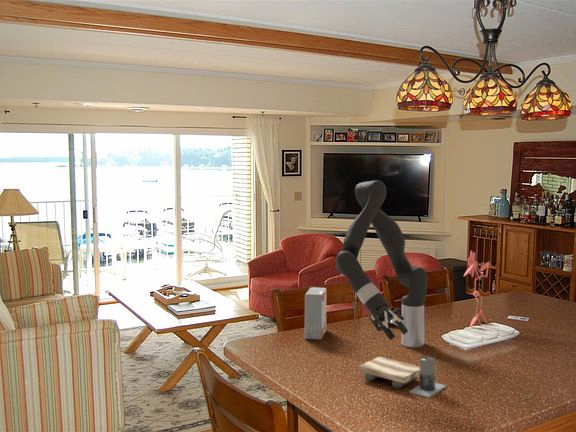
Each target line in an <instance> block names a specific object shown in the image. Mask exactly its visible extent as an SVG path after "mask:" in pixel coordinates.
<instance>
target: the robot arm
mask: <svg viewBox="0 0 576 432" xmlns="http://www.w3.org/2000/svg"><path fill="white" fill-rule="evenodd" d="M354 194H355V198H356V201H357V202H358V204H359V206H360V208H361V209H362V211H360V213H359V214H358V215H357V217H356V218H355V219H354V220H353V221H352V222H351V224H350V225H349V227H348V229H347V232H346V233H345V237H344V239H343V241H342V248H341V250H340V252H339V253H338V254H337V255H336V259H335V269H336V271H337V273H339V274H340V275H343V276H346V278H347V279H348V283H349V285H350V287H351V289H352V290H353V291H354V293H355V294H356V295H357V297H358V299H359V301H360V302H361V303H362V305H363V306H364V308H365V309H366V310H367V312H368V313H369V314H370V315H371V316H369V320H370V321H371V323H372V324H373V326H374V327H375V329H376V330H377V331H378V332H383V333H384V334H385V335H386V337H387V338H388V339H389V340H390V341H392V340H394V339H395V338H396V335H395V334H394V333H393V331H392V329H391V328H390V327H389V325H388V323H389V322H390V323H394V324H395V326H397V328H398V329H399V331H400V332H401V333H400V334H401V336H400V337H401V340H400V341H401V345H402V346H404V347H408V348H421V347H424V345H425V301H426V298H427V289H428V275H427V271H426V270H425V268H423V267H420V266H416V265H412V264H411V263H410V261H409V259H408V258H407V256H406V253H405V248H406V246H405V245H406V239H405V236H404V234H403V232H402V230H401V227H400V226H399V225H398V223H397V222H396V221H395V219H393V218H392V217H390V216H389V215H388V214H387V213H385V212H384V211H383V210H382V209H381V207H382V205H383V204H384V201H385V199H386V197H387V186H386V185H385V183H384V182H383V181H381V180H370V181H369V180H367V181H363V182H359V183H358V184H356V185H355V188H354ZM371 225H372V227H373V229H374V230H375V232H376V235H377V236H378V239H379V241H380V242H381V245H382V246H383V248H384V250H385V252H386V254H387V256H388V258H389V260H390V262H391V263H392V264H391V265H392V267H393V270H394V272H395V275H396V277H397V280H398V282H399V283H400V285H402V286H403V287H406V288H409V289H408V294H406V295H404V296H402V297H401V309H402V315H401V314H400V313H399V312H398V310H397V309H396V308H397V307H395V305H393V306H391V307H389V306H388V304H389V302H388V301H387V299H386V298H385V297H384V295H383V294H382V293H381V291H380V290H379V288H378V287H377V285H375V284H374V283H373V281H372V280H371V279H370V278H369V276H368V275H367V273H365V271H364V269H363V268H362V265H361V264H360V262H359V260H358V257H359V255H360V250H361V249H362V246H363V243H364V241H365V239H366V236H367V234H368V231H369V229H370V227H371ZM398 316H399V317H400V318H398ZM393 317H394V318H393ZM395 320H396V321H397V322H396V321H395Z"/></svg>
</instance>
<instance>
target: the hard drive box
mask: <svg viewBox="0 0 576 432" xmlns="http://www.w3.org/2000/svg"><path fill="white" fill-rule="evenodd" d="M326 331H327V287H316V286H315V287H314V286H313V287H309V289H308V290H307V292H306V293H305V294H304V339H306V340H319V341H320V340H322V339H323V337H324V335H325V333H326Z"/></svg>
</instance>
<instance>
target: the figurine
mask: <svg viewBox="0 0 576 432" xmlns="http://www.w3.org/2000/svg"><path fill="white" fill-rule="evenodd" d="M467 264H468V268H467V270H466V271H465V272H464V274H463V277H466V276H467V275H468V274H469V275H471V278H474V274H475V273H476V275H477V278H474V291H473V293H472V294H473V296H474V297H475V299H476V302H477V305H476V311H475V312H476V313H475V316H473V318H472V320H471V322H470V325H469V327H470V326H471V327H472V326H474V325H475V323H476V321H478V323H479V325H480V327H481V325H482V324H481V321H480V319H479V317H480V316H482V318H483V319H484V322H485V323H486V324H488V321H487V319H486V317H485V315H484V313H483V312H484V310H483V309H481V310H480V311H479V313H478V308H479V300H478V298H477V297H480V300H481V301H480V308H482V307H483V305H482V304H483V303H482V302H483V297H482V296H481V295H480V292H479V291H478V290H477V289H476V287H477V284H476V283H477V282H476V281H477V280H479V281H480V280H481V278H482V277H484V278H488V274H489V267H490V264H491V263H490V261H487V262H485V263H484V264H483V265H482V266H481V267H480V268H479V266H478V265H477V261H476V252H475V251H474V252H473V250H470V252H469V256H468V258H467ZM484 270H486V274H485V275H484V274H483V273H482V272H483V271H484ZM478 272H479V273H478ZM479 274H480V275H479ZM459 320H461V319H457V320H456V319H455V322H456V321H459ZM488 320H490V321H492V319H491V318H490V319H488ZM455 327H456V328H458V329H459V328H460V327H459V326H457V325H455Z"/></svg>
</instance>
